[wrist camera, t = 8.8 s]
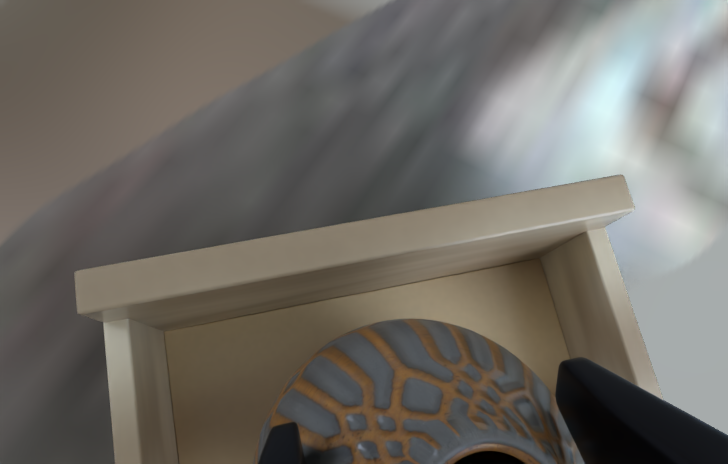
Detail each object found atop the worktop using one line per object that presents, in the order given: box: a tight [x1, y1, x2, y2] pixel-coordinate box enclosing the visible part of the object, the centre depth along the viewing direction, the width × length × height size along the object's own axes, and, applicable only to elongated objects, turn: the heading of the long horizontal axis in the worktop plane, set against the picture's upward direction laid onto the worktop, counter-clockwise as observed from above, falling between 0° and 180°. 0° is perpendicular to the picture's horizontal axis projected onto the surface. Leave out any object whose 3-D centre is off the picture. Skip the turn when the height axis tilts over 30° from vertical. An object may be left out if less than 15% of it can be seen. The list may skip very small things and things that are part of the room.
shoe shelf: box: [74, 175, 663, 464], centre depth 14 cm, size 8×13×5 cm, turn 102°
